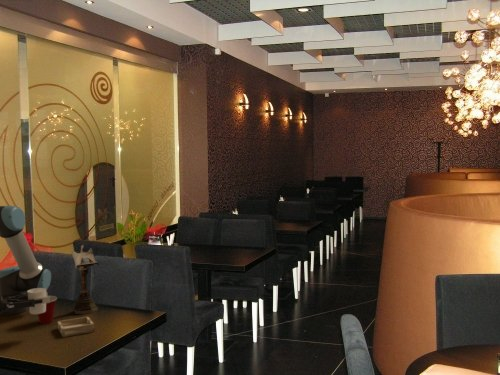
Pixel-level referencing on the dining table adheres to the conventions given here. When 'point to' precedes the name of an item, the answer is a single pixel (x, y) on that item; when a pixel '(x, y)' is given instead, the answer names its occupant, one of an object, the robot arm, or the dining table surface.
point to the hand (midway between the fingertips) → (48, 297)
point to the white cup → (37, 294)
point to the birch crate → (75, 326)
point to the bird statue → (84, 281)
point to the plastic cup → (48, 311)
